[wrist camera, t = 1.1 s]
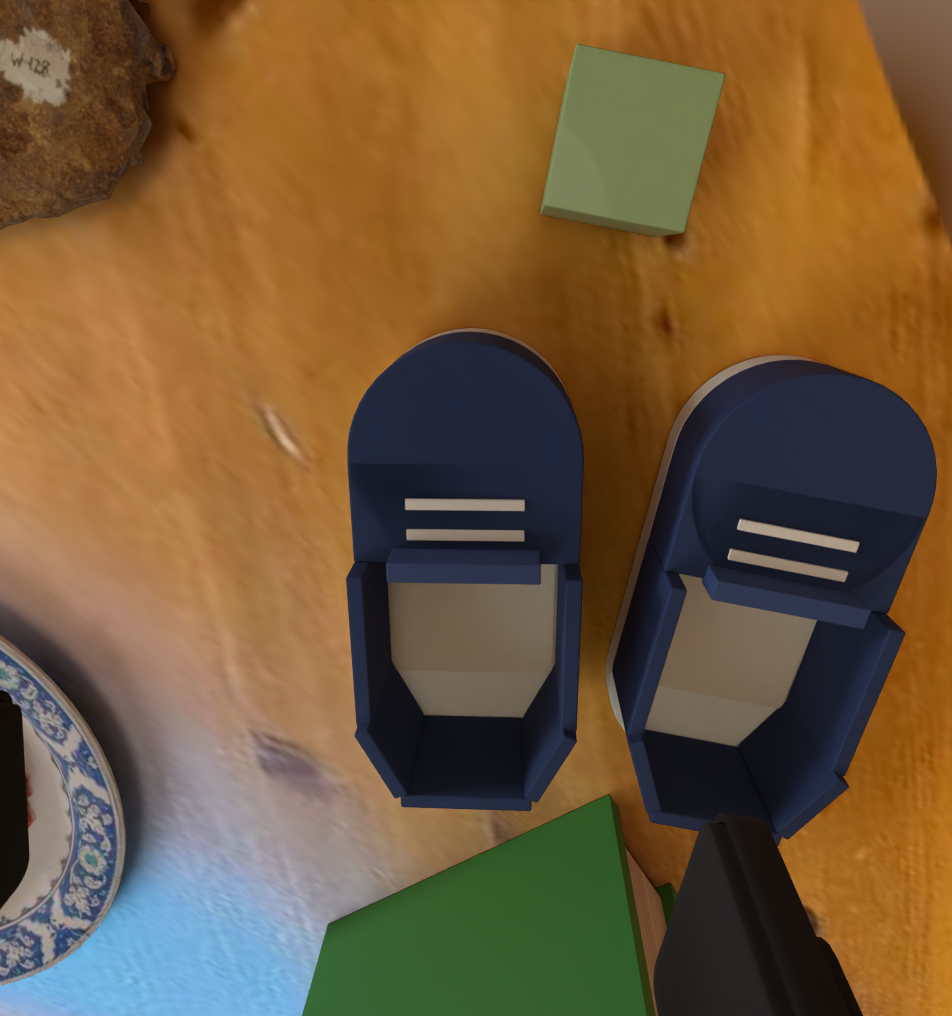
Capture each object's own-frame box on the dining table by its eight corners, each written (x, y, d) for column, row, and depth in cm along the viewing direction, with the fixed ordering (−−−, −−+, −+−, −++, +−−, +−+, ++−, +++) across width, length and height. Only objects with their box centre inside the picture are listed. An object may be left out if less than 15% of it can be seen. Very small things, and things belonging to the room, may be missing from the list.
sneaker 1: (366, 328, 30) (325, 347, 24) (577, 327, 30) (593, 347, 23) (388, 723, 36) (360, 824, 30) (563, 727, 36) (573, 831, 30)
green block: (565, 81, 27) (576, 43, 22) (688, 106, 27) (726, 73, 22) (539, 214, 29) (543, 205, 24) (655, 237, 29) (684, 233, 24)
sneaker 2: (695, 336, 30) (745, 358, 23) (904, 376, 30) (1012, 410, 23) (586, 728, 36) (601, 832, 29) (759, 761, 36) (813, 872, 30)
